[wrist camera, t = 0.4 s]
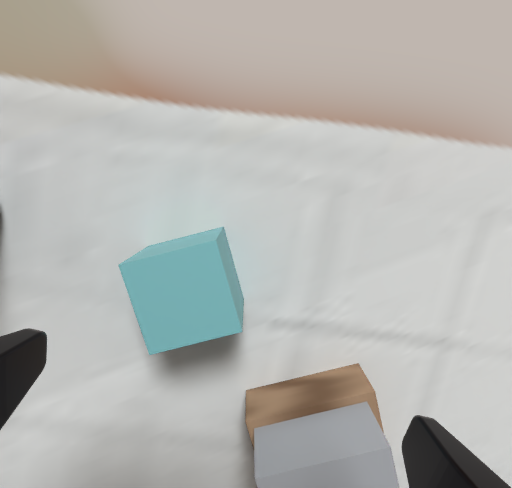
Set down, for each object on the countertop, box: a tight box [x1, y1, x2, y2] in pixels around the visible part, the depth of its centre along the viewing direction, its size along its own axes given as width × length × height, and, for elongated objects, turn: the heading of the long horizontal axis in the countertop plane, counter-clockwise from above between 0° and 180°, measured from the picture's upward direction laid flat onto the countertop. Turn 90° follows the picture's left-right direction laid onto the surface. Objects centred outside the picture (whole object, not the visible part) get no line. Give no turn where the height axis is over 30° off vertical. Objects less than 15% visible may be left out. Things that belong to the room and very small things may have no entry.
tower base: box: [246, 363, 384, 449], centre depth 23 cm, size 8×8×4 cm
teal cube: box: [119, 227, 244, 355], centre depth 19 cm, size 5×5×5 cm
